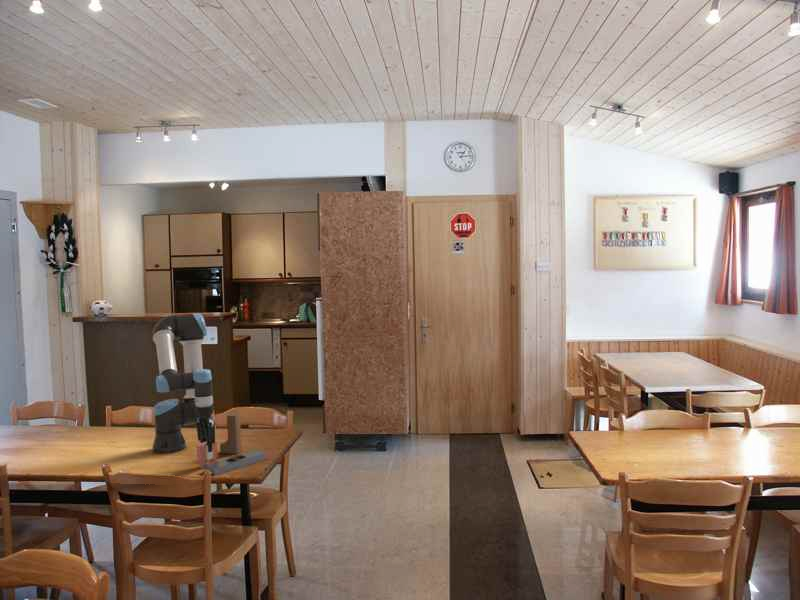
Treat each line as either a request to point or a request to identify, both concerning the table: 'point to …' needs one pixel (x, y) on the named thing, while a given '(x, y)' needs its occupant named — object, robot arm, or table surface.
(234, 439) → the wooden block
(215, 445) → the pink slab
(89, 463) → the table surface
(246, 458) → the rail
